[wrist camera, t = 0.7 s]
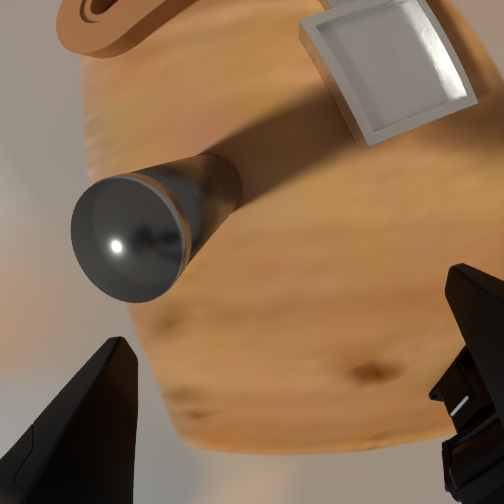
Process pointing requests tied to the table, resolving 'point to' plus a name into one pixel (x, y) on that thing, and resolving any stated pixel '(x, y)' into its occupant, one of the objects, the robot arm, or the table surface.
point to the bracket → (111, 24)
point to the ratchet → (385, 65)
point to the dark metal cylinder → (151, 224)
